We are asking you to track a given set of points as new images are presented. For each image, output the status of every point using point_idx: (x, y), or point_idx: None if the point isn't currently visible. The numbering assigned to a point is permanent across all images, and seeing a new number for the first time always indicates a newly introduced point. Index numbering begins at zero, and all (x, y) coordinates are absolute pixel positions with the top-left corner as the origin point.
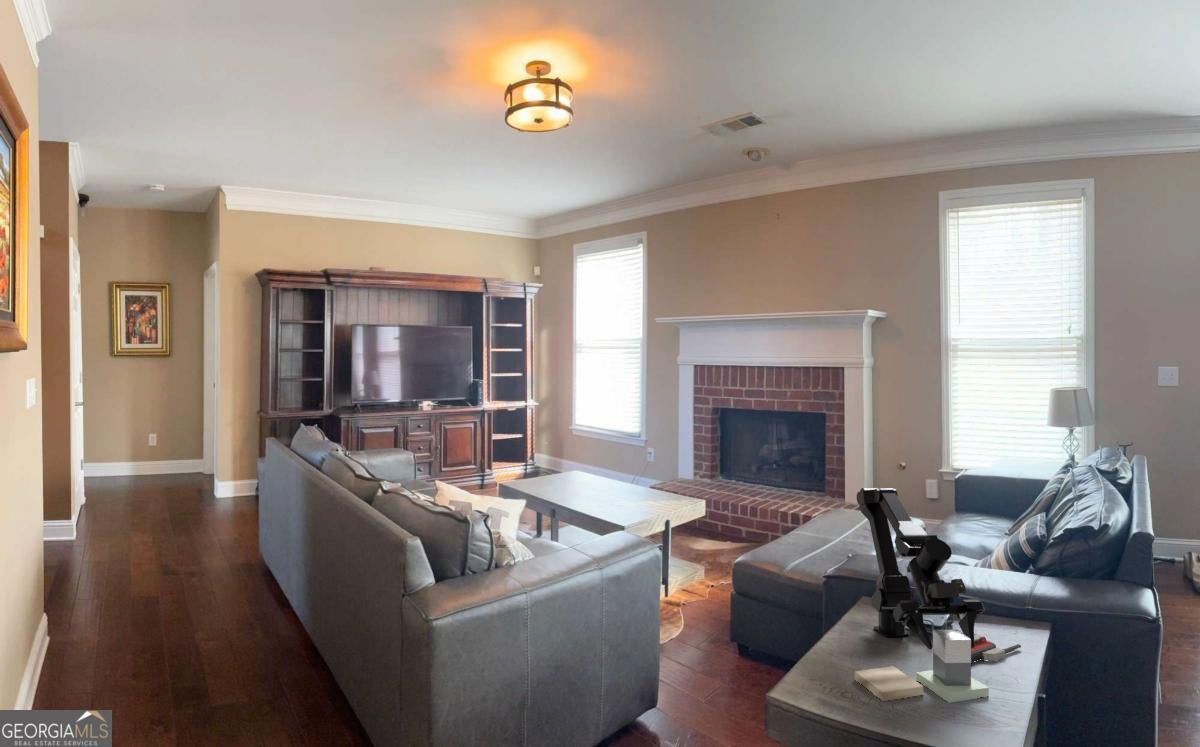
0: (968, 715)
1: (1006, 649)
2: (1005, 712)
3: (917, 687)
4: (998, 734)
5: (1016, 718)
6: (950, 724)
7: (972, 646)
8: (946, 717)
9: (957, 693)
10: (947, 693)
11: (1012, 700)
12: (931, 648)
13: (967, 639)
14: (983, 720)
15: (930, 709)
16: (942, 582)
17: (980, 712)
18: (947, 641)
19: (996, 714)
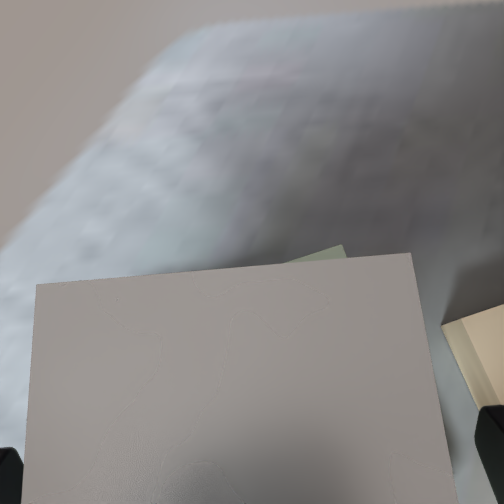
0: (289, 157)
1: None
2: (115, 192)
3: (497, 306)
4: (235, 38)
5: (98, 149)
6: (392, 86)
7: (9, 450)
8: (391, 135)
9: (289, 261)
10: (345, 253)
11: (14, 303)
12: (482, 415)
13: (81, 288)
14: (244, 124)
15: (441, 194)
16: None
17: (224, 185)
18: (374, 261)
19: (163, 174)
